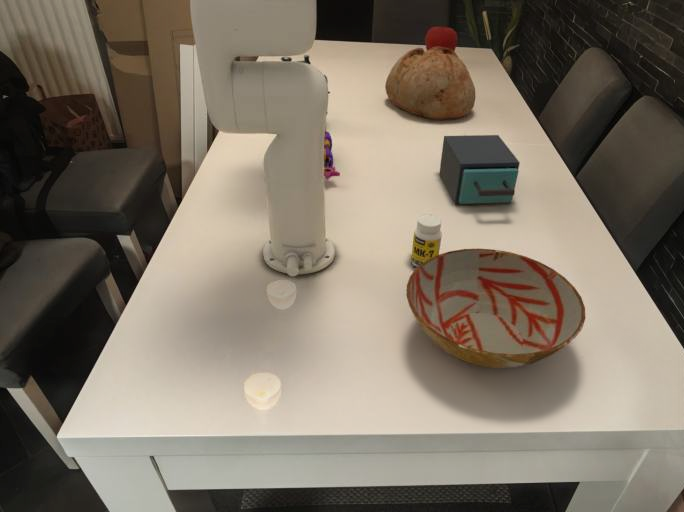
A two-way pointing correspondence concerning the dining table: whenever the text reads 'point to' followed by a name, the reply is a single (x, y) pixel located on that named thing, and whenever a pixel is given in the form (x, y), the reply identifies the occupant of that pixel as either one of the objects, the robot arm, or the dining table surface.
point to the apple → (441, 38)
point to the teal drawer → (488, 185)
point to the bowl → (494, 307)
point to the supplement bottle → (426, 239)
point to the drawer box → (472, 158)
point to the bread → (431, 84)
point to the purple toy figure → (328, 157)
